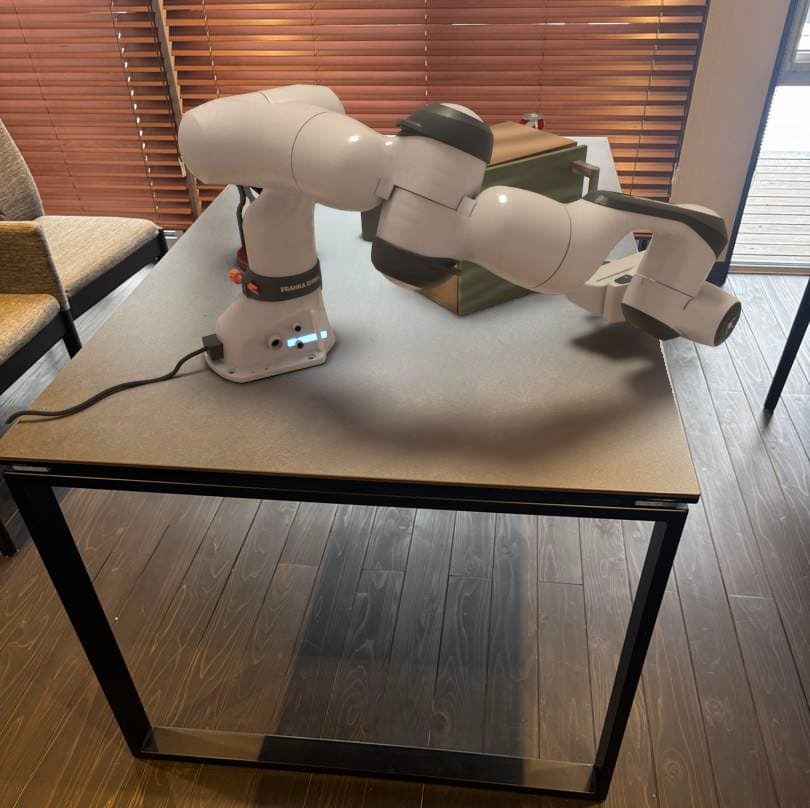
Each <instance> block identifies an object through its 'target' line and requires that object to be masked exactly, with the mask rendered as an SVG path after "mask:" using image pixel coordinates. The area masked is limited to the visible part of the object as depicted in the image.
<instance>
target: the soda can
mask: <svg viewBox="0 0 810 808" xmlns="http://www.w3.org/2000/svg"><path fill="white" fill-rule="evenodd" d="M520 118H521V119H520V120H519V122H518V123H519V124H522V125H525V126H529V127H532V128H535V129H538V130H542V131H545V132H546V126H547V125H546V122H545V119H544V115H543V114H541V113H536V112H530V113H528V112H527V113H524V114H522V115H521V116H520Z"/></svg>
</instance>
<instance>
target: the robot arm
mask: <svg viewBox="0 0 810 808" xmlns="http://www.w3.org/2000/svg"><path fill="white" fill-rule="evenodd" d="M394 125H395V127H397V128H399V129H400V130H399V131H398V132H396V134H395V135H394V136H387V135H384V134H382V133H380V132H377V131H376V130H374V129H373V128H371V127H369V126H368V125H367V124H366V125H365V124H364V123H363V122H361V121H359V120H357V119H355V118H353V117H351V116H348V115H347V114H346V110H345V108H344V105H343V103H342V102H341V100H340V98H339V96H338V95H337V94H336V93H335V91H333V90H332V89H331V88H330V87H328V86H325V85H318V84H301V83H296V84H290V85H286V86H279V87H274V88H273V87H272V88H268V89H263V90H258V91H253V92H248V93H242V94H237V95H231V96H230V95H229V96H225V97H220V98H215V99H212V100H209V101H207V102H205V103H202V104H200V105H198V106H195V107H194V108H191V109H189V110H187V111H185V112H184V113H183V115H182V117H181V119H180V122H179V126H178V130H177V131H178V132H177V144H178V149H179V154H180V156H181V159H182V161H183V163H184V165H185V166H186V168H187V170H188V171H189V172H190V173H191V175H193V176H194V178H196V179H197V180H198V181H199V182H201V183H203V184H204V185H230V186H231V185H233V186H236V185H244V186H251V187H258V188H263V190H262V192H261V193H260V195H259V194H258V196H257V197H255V198H256V199H255V200H254V201H253V202H252V203H251V204H250V203H249V205H247V207H246V209H245V211H244V214H243V216H242V218H243V222H242V227H243V233H244V239H245V245H246V251H247V257H248V262H249V264H248V266H247V269H246V270H245V271H244V273H242V272H241V271H240V270H239V269H237V268H233V269H231V270H229V272H228V278H229V281H231V282H233V283H234V284H235V285H240V286H241V291H240V293H239V294H238V295H237V296H236V298H235V299H234V300H233V301H232V302H231V304H229V306H228V307H227V308H226V309H225V310H224V311H223V312H222V313H221V314H220V315H219V317H218V318H217V320H216V322H215V328H214V333H212V334H207V335H204V336H201V340H202V345H203V347H200V348H199V349H197V350H194V351H192V352H190V353H188V354H187V355H185V356H184V357H182V358H181V359H179V360H178V362H177V363H176V365H175V367H174V368H173V370H171V371H170V372H169V373H167V374H164V375H163V376H159V377H155V378H150V379H143V380H141V379H140V380H134V381H127V382H123V383H119V384H116V385H113V386H110V387H109V388H106V389H103V390H102V391H99V392H98V393H96V394H95V395H93V396H91V397H89V398H88V399H86V400H85V401H83V402H81V403H79V404H77V405H74V406H72V407H69V408H66V409H62V410H57V411H56V410H55V411H48V410H47V411H46V410H44V411H43V410H31V409H27V410H25V409H24V410H18V411H16V412H14V413H13V414H10V415H9V417H8V418H7V419H6V420H5V422H4V425H11V424H12V423H13V422H14V421H15V420H16V419H17V418H20V417H22V416H39V417H61V416H66V415H69V414H72V413H74V412H78V411H79V410H82V409H83V408H85V407H87V406H89V405H91V404H92V403H95V402H96V401H98V400H99V399H101V398H103V397H105V396H106V395H109V394H111V393H113V392H115V391H118V390H122V389H125V388H129V387H136V386H143V385H150V384H154V383H160V382H165V381H167V380H169V379H171V378H172V377H175V376H176V375H177V374H178V373H179V371H180V369H181V367H182V366H183V364H185V363H186V362H188V361H189V360H191V359H192V358H194V357H196V356H198V355H201V354H204V359H205V361H206V364H207V365H208V366H209V368H210V369H212V371H213V372H215V373H216V374H217V375H219V376H220V377H221V378H224V379H225V380H228V381H231V382H234V383H239V384H241V383H248V382H251V381H255V380H260V379H265V378H268V377H272V376H276V375H281V374H284V373H285V374H286V373H289V372H293V371H297V370H301V369H305V368H309V367H314V366H318V365H321V364H324V363H325V362H326V361H327V356H328V355H327V354H328V353H329V351H330V350H331V349H332V348H333V346H334V345H335V343H336V336H335V333H334V332H333V329H332V326H331V323H330V321H329V318H328V314H327V310H326V307H325V302H324V296H323V292H322V291H323V275H322V268H321V262H320V261H321V260H320V258H319V257H317V244H316V232H315V210H316V204H318V205H321V206H323V207H326V208H330V209H333V210H337V211H342V212H351V213H354V212H356V213H361V212H362V211H367V210H371V209H373V208H375V207H376V206H378V205H379V204H380V203H382V201H383V199H384V203H383V206H382V210H381V214H380V219H379V223H378V229H377V234H376V235H374V236H373V241H371V249H370V250H371V251H370V262H371V263H372V265H373V268H374V269H375V270H376V271H377V272H379V273H380V274H381V275H382V276H383V277H384V278H385V279H386V280H387V281H388V282H390V283H392V284H393V285H395V286H397V287H400V288H402V289H407V290H414V291H416V290H417V289H426V290H429V289H433V288H435V287H438V286H440V285H443V284H444V283H446V282H447V281H448V280H449V279H450V278H452V277H453V276H454V275H455V276H461V275H462V274H463V273H464V272H463V271H462V270H459V269H457V268H455V267H454V266H455V265H456V264H458V263H460V262H461V261H462V260H467V261H471V262H473V263H476V264H478V265H480V266H482V267H483V268H485V269H487V270H488V271H490V272H492V273H493V274H495V275H497V276H499V277H501V278H503V279H505V280H507V281H509V282H511V283H513V284H516V285H518V286H521V287H523V288H526V289H529V290H532V291H536V292H535V293H539V294H540V293H541V294H546V295H553V296H554V295H556V296H557V295H563V294H564V295H565V294H566V298H567V300H568V301H569V302H571V303H572V304H573V305H576V306H577V307H579V308H581V309H583V310H585V311H588V312H590V313H593V314H597V315H602V318H603V320H604V321H605V322H608V323H619V322H626V324H627V325H628V326H630V327H631V328H634V329H637V330H640V331H643V332H645V333H647V334H649V335H650V336H652V337H653V338H654V339H657V340H659V341H662V342H666V341H671V340H675V339H678V338H682V339H685V340H687V341H691V342H693V343H697V344H699V345H703V346H707V347H712V348H716V347H719V346H721V345H722V344H723V343H725V342H726V341H727V339H729V337H731V335H732V333H733V331H734V330H735V328H736V326H737V325H738V322H739V321H740V318H741V314H742V302H741V301H740V300H739V298H737V297H736V296H734V295H733V294H731V293H730V292H728V291H726V290H724V289H723V288H721V287H719V286H717V285H716V284H714V283H711V282H709V281H707V278H708V276H709V274H710V272H711V271H712V269H713V266H714V265H715V263H716V262H717V261H718V260H719V258H720V256H721V255H722V253H723V251H724V250H725V248H726V246H727V245H728V243H729V235H728V229H727V225H726V222H725V219H724V218H722V217H721V215H720V214H718V213H717V212H716V211H714V210H712V209H711V208H709V207H706V206H702V205H699V204H695V203H679V204H678V203H674V202H667V201H662V200H657V199H652V198H648V197H644V196H640V195H639V196H638V195H634V194H629V193H624V192H618V191H612V190H605V189H597V190H594V191H589V192H588V191H587V193H585V194H584V195H582V199H580V200H577V201H575V202H572V203H567V204H563V203H560V202H558V201H555V200H553V199H551V198H548V197H546V196H543V195H541V194H538V193H534V192H531V191H528V190H523V189H519V188H514V187H507V186H493V187H490V188H488V189H486V190H484V191H482V192H481V193H480V190H481V186H482V182H483V179H484V174H485V170H486V166H487V164H490V161H491V156H492V150H493V142H494V135H493V133H492V131H491V129H490V127H489V126H490V125H488V124H487V123H485V122H484V120H483V119H482V118H481V117H480V116H479V115H478V114H476V112H475V111H473V110H471V109H469V108H468V107H466V106H464V105H461V104H457V103H451V102H444V103H443V102H442V103H437V102H432V103H429V104H425V105H424V106H421V107H419V108H417V109H415V110H414V111H413V112H412V113H411V114H409V116H408V117H407V118H405V119H403V118H397V120H396V121H395V122H394ZM399 187H400V188H399ZM401 188H402V189H401ZM403 189H404V190H403ZM406 190H407V191H406ZM408 191H409V192H408ZM411 192H412V193H411ZM413 193H414V194H413ZM479 193H480V194H479ZM415 194H416V195H415ZM418 195H419V196H418ZM420 196H421V197H420ZM423 197H424V198H423ZM425 198H426V199H425ZM430 200H431V201H430ZM435 202H436V203H435ZM440 204H441V205H440ZM442 205H443V206H442ZM445 206H446V207H445ZM447 207H448V208H447ZM450 208H451V209H450ZM452 209H453V210H452ZM454 210H456V211H454ZM637 230H638V231H645V232H650V233H652V235H651V239H650V242H649V244H648V245H647V247H646V249H645V250H642V251H638V252H636V253H633V254H630V255H628V256H625V257H622V258H619V259H617V260H616V259H608V257H609V256H610V254H611V253H612V252H613V250H614V249H615V248H616V247H617V246H618V244H619V243H620V242H621V241H622V240H623V239H624V238H625V237H626V236H628V235H629V234H630V233H632V232H634V231H637Z"/></svg>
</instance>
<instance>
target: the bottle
mask: <svg viewBox="0 0 810 808" xmlns="http://www.w3.org/2000/svg"><path fill="white" fill-rule="evenodd" d="M383 203H384V199H383V201H382V203H380V204H379V205H378V206H376V207H375V208H373V209H371V210H367V211H362V212H360V225H361V236H362V239H363V240H365V241H369V242H372V241H373V236H374V235H376V234H377V229H378V223H379V219H380V214H381V210H382V206H383Z"/></svg>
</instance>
